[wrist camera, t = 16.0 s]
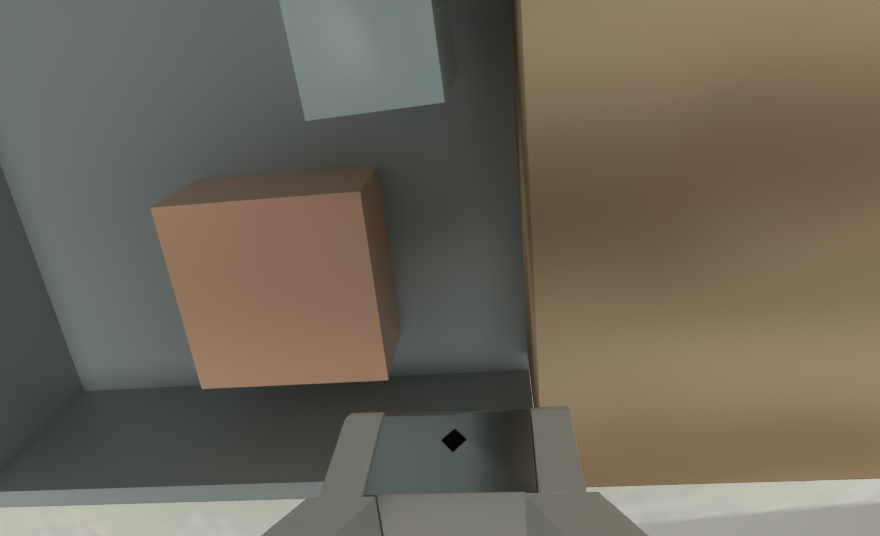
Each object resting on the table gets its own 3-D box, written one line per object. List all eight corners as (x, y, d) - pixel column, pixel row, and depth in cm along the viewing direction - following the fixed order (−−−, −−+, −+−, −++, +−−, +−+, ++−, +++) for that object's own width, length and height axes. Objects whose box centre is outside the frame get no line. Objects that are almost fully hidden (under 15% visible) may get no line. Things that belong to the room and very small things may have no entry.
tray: (-133, -185, 15) (-415, -270, 10) (494, -280, 13) (497, -430, 9) (83, 396, 21) (-31, 508, 16) (528, 375, 19) (541, 491, 15)
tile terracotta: (359, 191, 14) (377, 164, 17) (150, 208, 15) (195, 179, 17) (388, 380, 16) (400, 333, 18) (201, 389, 17) (236, 342, 19)
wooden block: (497, -222, 14) (504, -374, 8) (1054, -301, 12) (1503, -540, 7) (526, 346, 19) (543, 488, 13) (919, 325, 18) (1113, 472, 12)
